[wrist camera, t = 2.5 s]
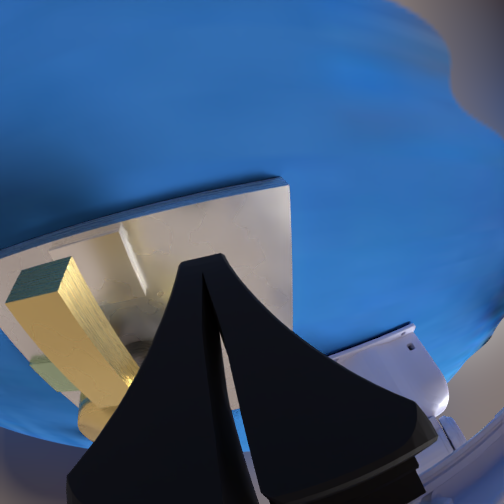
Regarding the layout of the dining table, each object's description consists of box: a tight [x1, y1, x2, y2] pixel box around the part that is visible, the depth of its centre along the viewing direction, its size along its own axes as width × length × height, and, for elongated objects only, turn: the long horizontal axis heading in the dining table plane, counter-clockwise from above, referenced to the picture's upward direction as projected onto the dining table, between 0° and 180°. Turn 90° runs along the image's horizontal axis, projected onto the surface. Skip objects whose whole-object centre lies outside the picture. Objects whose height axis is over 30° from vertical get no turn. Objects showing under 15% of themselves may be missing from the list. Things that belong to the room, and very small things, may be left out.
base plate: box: [0, 177, 293, 410], centre depth 15 cm, size 18×19×4 cm
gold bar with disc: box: [5, 256, 140, 442], centre depth 12 cm, size 15×8×5 cm, turn 6°
